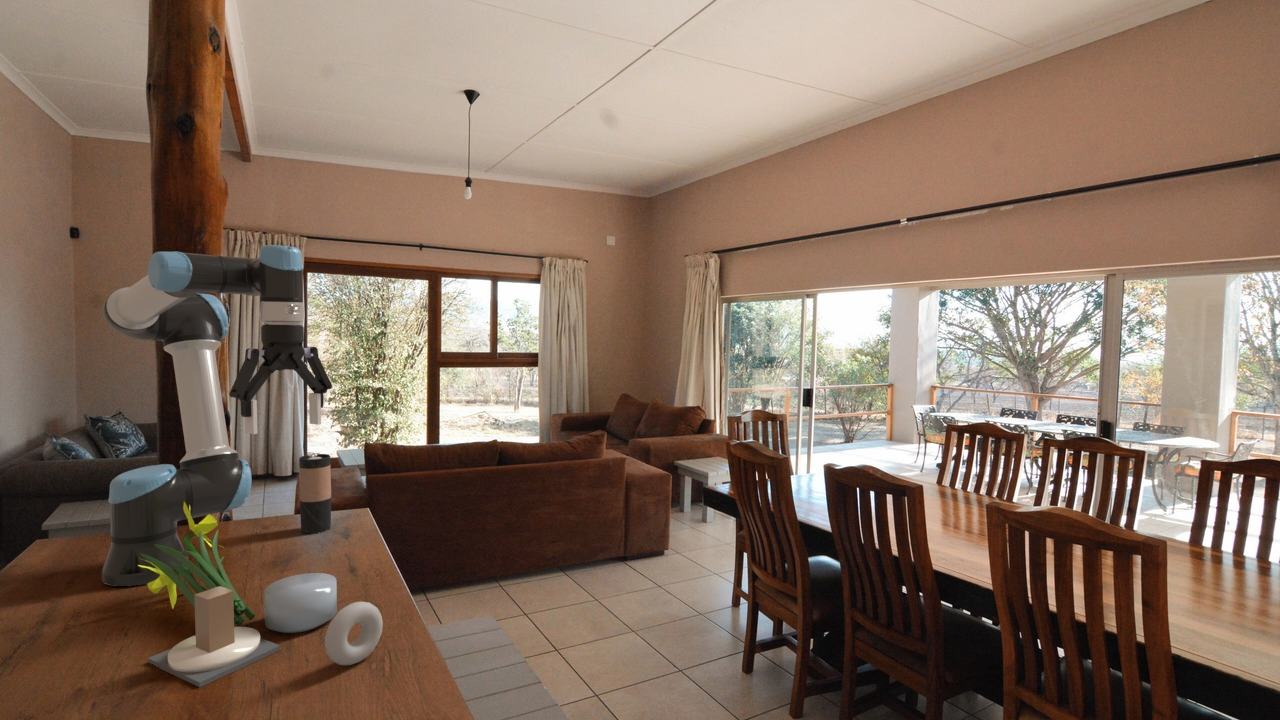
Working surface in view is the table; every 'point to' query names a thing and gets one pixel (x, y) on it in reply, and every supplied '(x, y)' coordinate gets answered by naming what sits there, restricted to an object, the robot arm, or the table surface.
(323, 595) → the light blue short cylinder
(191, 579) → the daffodil flowers
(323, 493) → the travel mug
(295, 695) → the table surface
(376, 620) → the donut
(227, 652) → the lid
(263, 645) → the mat
